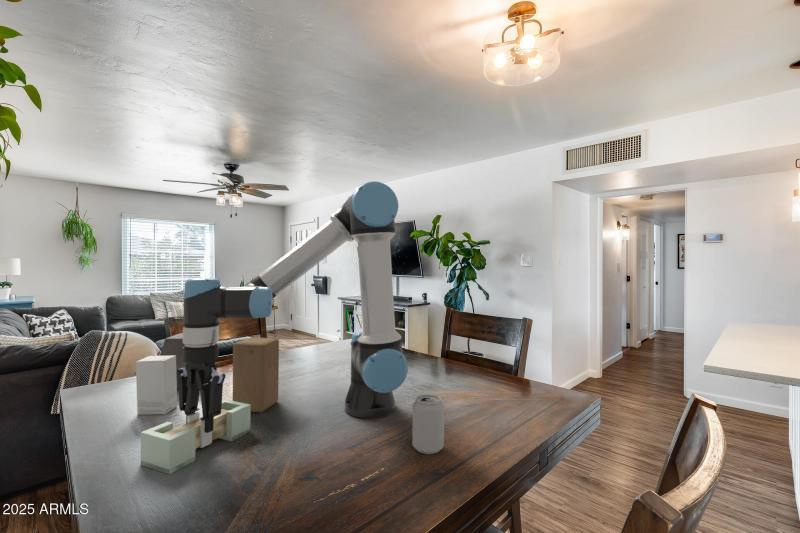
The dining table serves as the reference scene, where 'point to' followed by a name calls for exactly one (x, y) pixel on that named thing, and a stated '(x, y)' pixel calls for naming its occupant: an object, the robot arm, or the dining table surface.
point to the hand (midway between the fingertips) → (199, 443)
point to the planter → (174, 351)
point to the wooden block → (256, 372)
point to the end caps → (187, 440)
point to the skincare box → (156, 385)
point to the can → (428, 424)
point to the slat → (218, 427)
